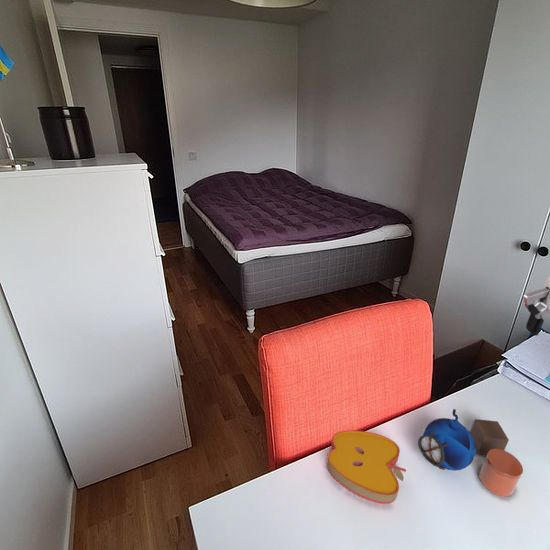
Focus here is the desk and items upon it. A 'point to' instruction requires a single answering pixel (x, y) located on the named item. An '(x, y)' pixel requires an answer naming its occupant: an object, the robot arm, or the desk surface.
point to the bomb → (447, 444)
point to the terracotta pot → (500, 472)
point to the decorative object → (366, 465)
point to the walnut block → (488, 436)
